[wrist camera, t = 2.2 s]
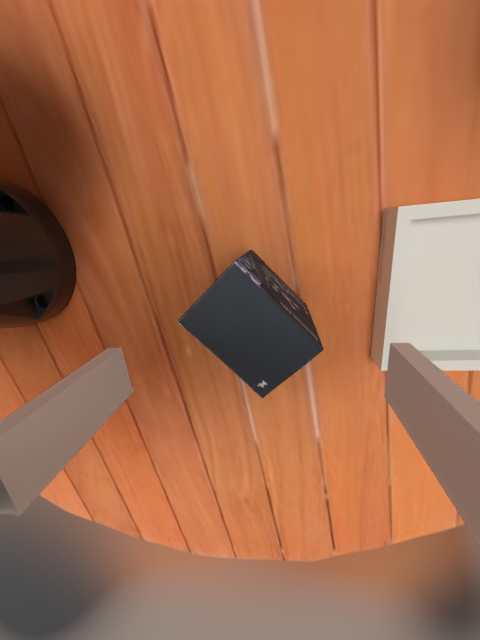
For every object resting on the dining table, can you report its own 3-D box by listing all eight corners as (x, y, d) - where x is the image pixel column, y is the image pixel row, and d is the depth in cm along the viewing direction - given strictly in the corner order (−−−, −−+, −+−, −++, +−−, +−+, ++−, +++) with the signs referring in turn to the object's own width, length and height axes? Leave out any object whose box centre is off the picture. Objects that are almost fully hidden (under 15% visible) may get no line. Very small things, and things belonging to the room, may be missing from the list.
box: (307, 303, 25) (326, 351, 15) (267, 339, 27) (260, 402, 17) (251, 247, 24) (233, 259, 14) (213, 288, 26) (174, 323, 16)
